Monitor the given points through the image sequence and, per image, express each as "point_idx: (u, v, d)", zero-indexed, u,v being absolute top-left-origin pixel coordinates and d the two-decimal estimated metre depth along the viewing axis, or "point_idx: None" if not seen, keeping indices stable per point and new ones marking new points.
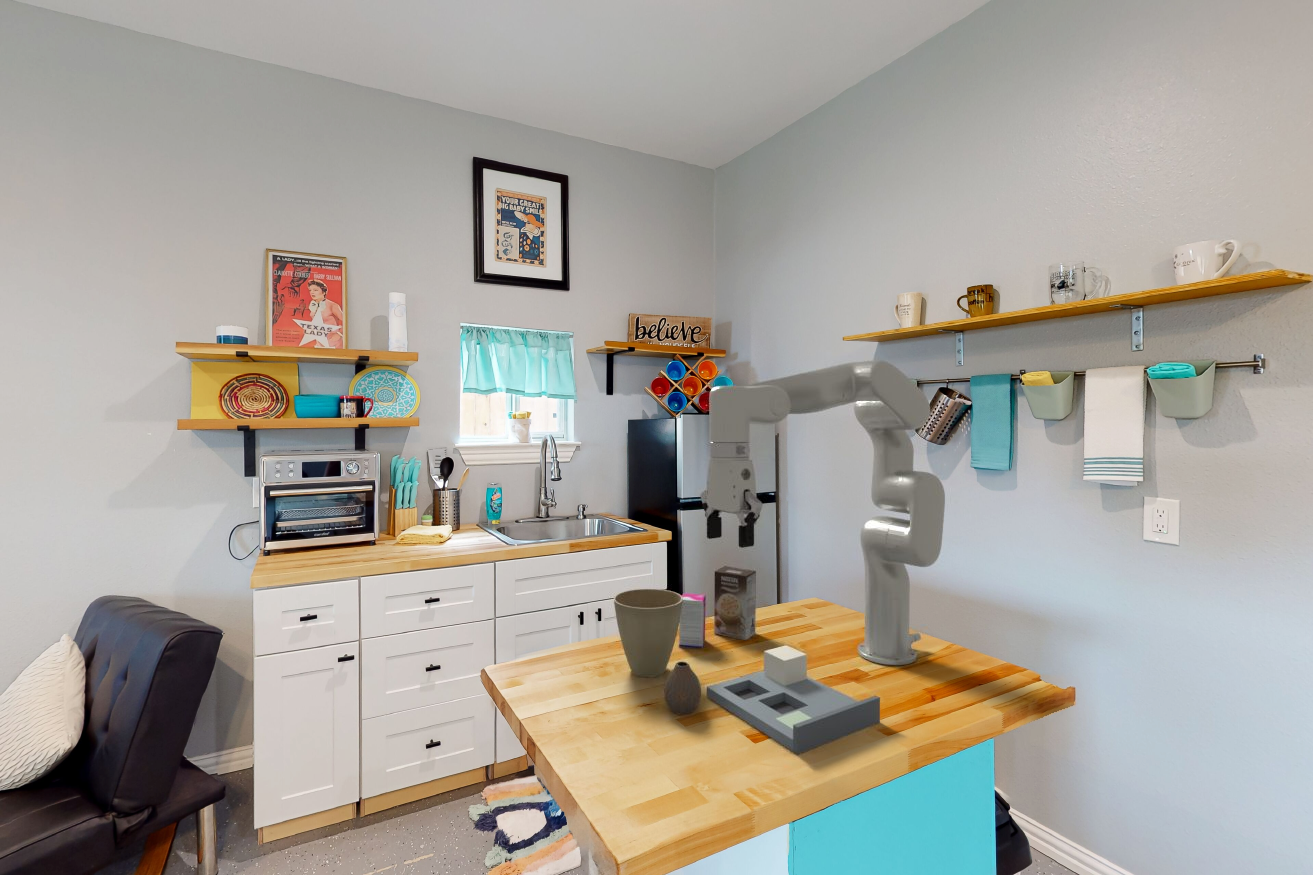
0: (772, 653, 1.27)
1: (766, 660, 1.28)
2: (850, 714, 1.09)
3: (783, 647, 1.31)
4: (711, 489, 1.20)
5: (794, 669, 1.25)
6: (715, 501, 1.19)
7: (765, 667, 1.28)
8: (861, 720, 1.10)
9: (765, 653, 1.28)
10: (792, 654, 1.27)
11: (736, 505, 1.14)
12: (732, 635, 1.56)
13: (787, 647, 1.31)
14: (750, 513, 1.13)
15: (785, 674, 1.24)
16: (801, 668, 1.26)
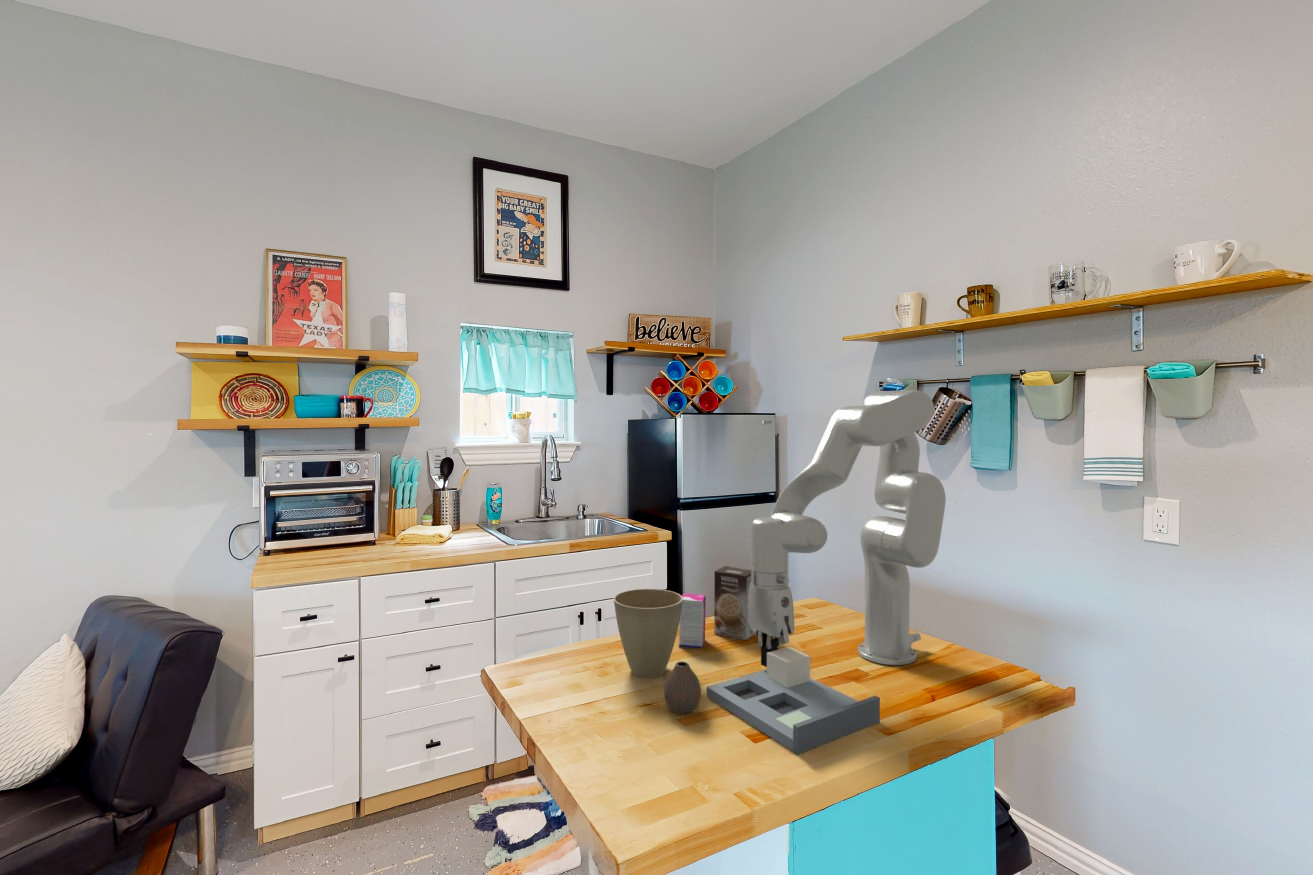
0: (775, 655, 1.26)
1: (769, 662, 1.27)
2: (850, 714, 1.09)
3: (786, 649, 1.30)
4: (752, 611, 1.32)
5: (797, 671, 1.24)
6: (756, 622, 1.32)
7: (768, 669, 1.28)
8: (861, 720, 1.10)
9: (768, 655, 1.27)
10: (795, 656, 1.26)
11: (776, 630, 1.27)
12: (732, 635, 1.56)
13: (790, 649, 1.30)
14: (774, 639, 1.29)
15: (788, 676, 1.23)
16: (804, 670, 1.25)
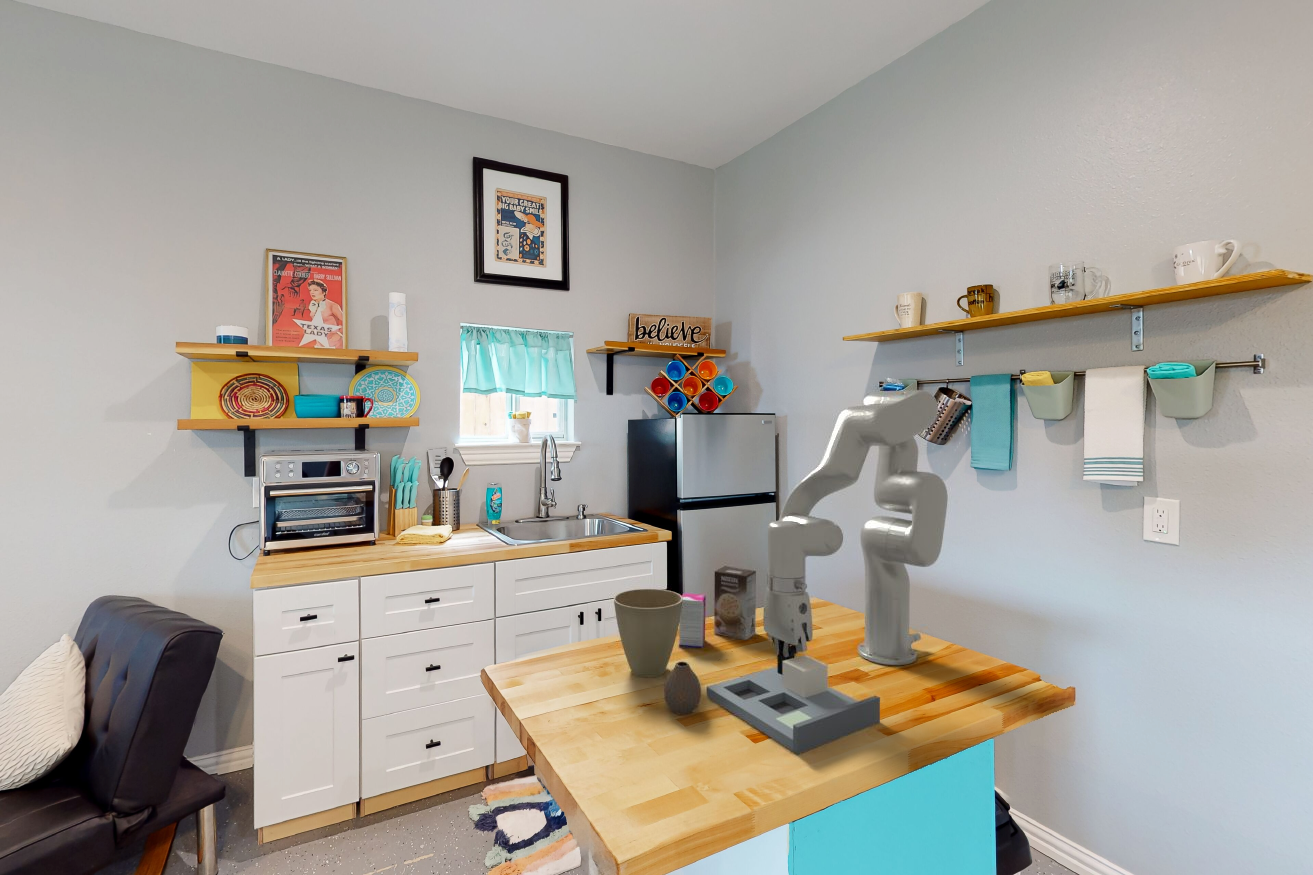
0: (791, 663, 1.22)
1: (785, 670, 1.23)
2: (850, 714, 1.09)
3: (802, 657, 1.25)
4: (769, 617, 1.28)
5: (814, 680, 1.20)
6: (772, 629, 1.27)
7: (784, 678, 1.23)
8: (861, 720, 1.10)
9: (784, 663, 1.23)
10: (812, 664, 1.21)
11: (794, 638, 1.22)
12: (732, 635, 1.56)
13: (806, 657, 1.25)
14: (792, 646, 1.24)
15: (805, 685, 1.19)
16: (821, 679, 1.21)
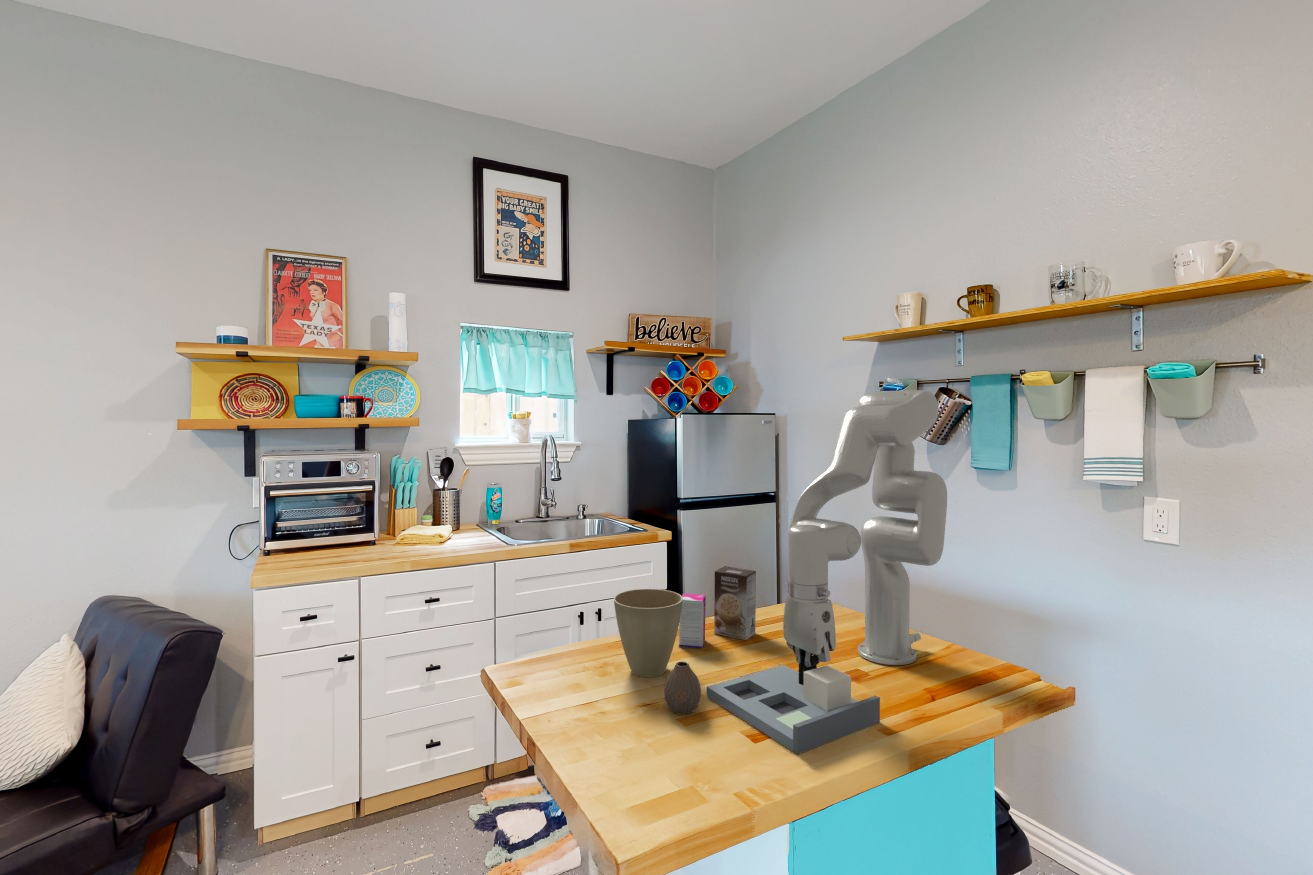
0: (813, 674, 1.17)
1: (806, 682, 1.18)
2: (850, 714, 1.09)
3: (824, 667, 1.20)
4: (789, 625, 1.23)
5: (837, 692, 1.14)
6: (793, 638, 1.22)
7: (805, 689, 1.18)
8: (861, 720, 1.10)
9: (805, 674, 1.18)
10: (834, 676, 1.16)
11: (817, 647, 1.17)
12: (732, 635, 1.56)
13: (828, 667, 1.20)
14: (814, 656, 1.19)
15: (828, 698, 1.13)
16: (845, 691, 1.15)
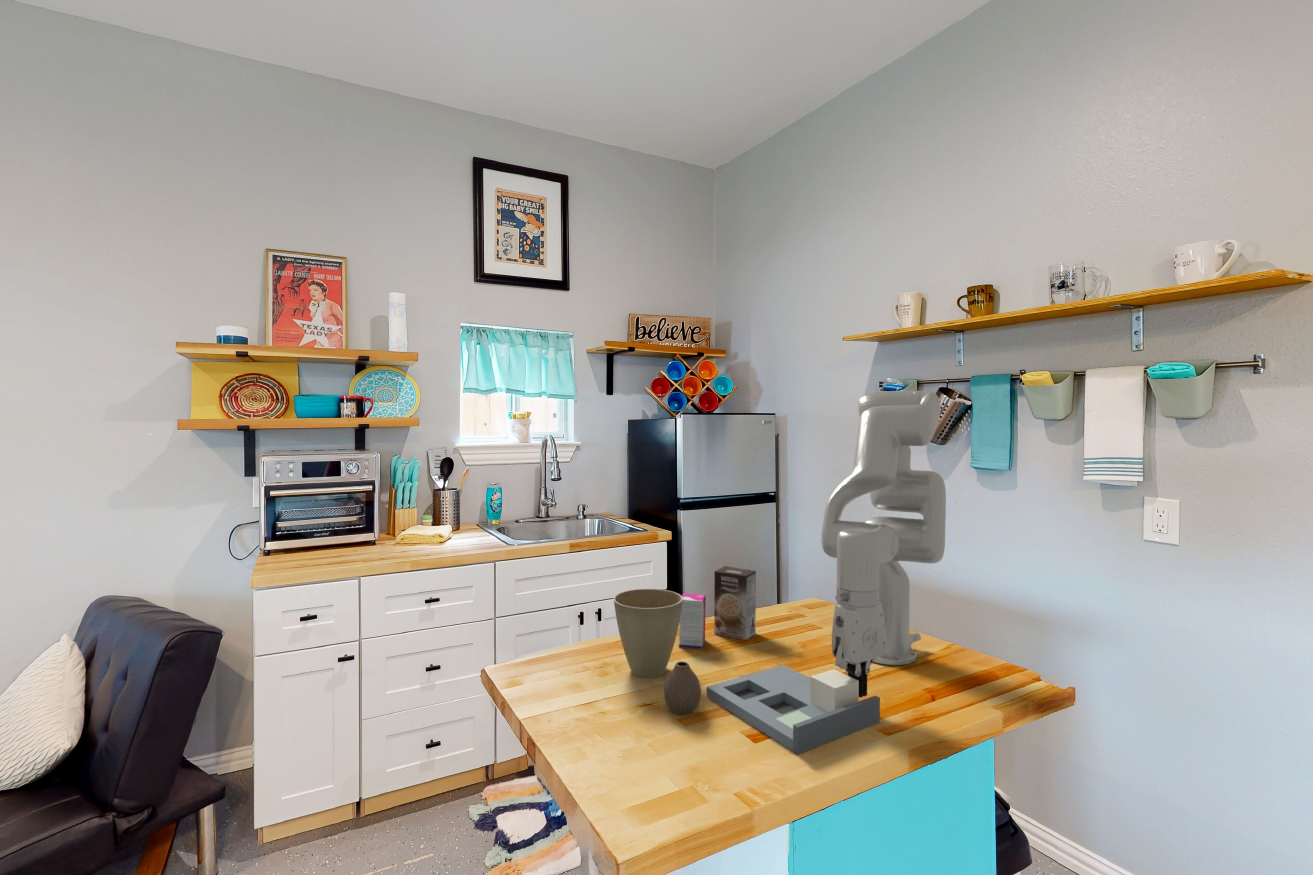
0: (820, 679, 1.15)
1: (813, 686, 1.16)
2: (850, 714, 1.09)
3: (831, 672, 1.18)
4: None
5: (845, 697, 1.12)
6: None
7: (812, 694, 1.16)
8: (861, 720, 1.10)
9: (812, 679, 1.16)
10: (842, 680, 1.14)
11: (832, 648, 1.17)
12: (732, 635, 1.56)
13: (835, 672, 1.18)
14: None
15: (835, 703, 1.11)
16: (852, 696, 1.13)
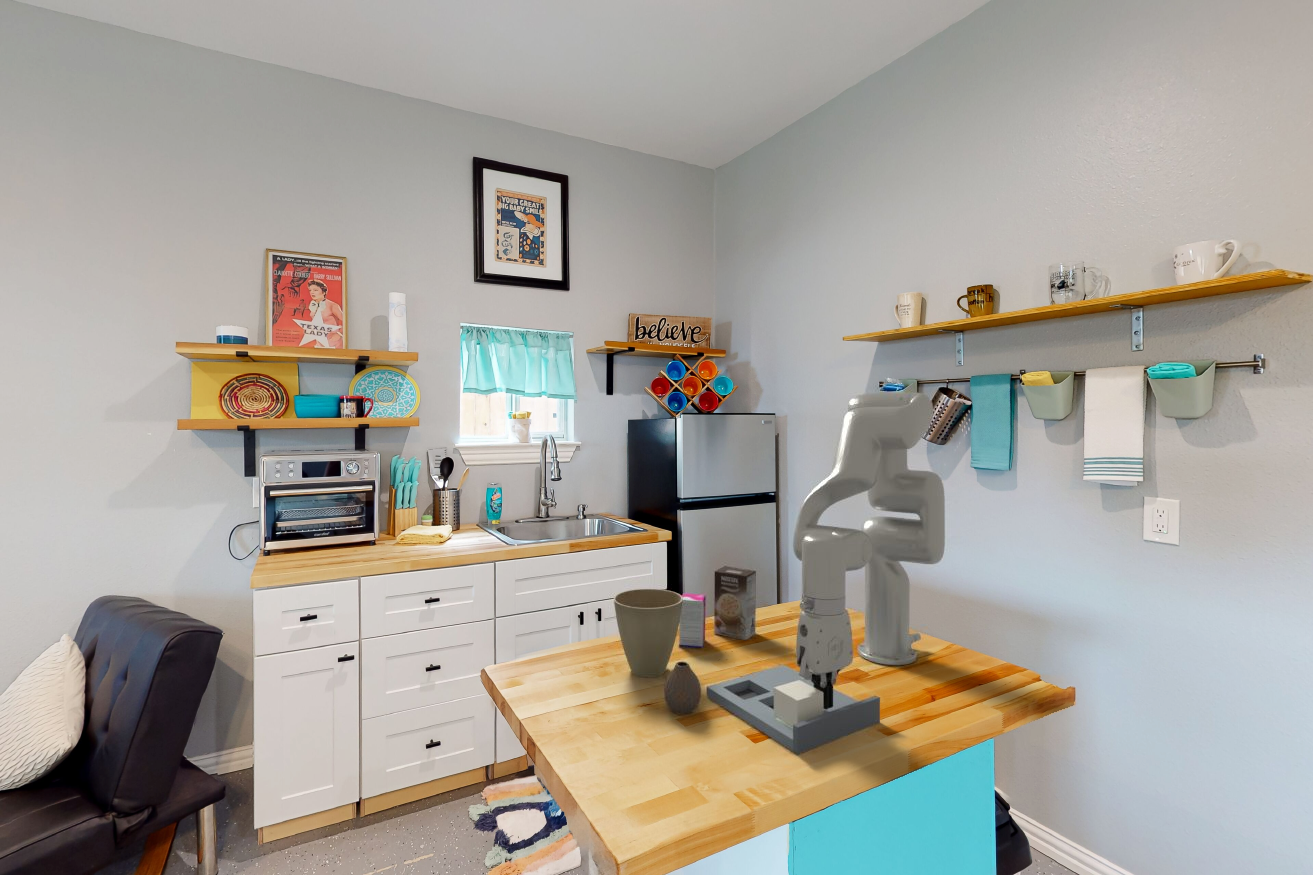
0: (783, 690, 1.10)
1: (776, 698, 1.11)
2: (850, 714, 1.09)
3: (796, 682, 1.13)
4: None
5: (808, 710, 1.08)
6: None
7: (775, 706, 1.11)
8: (861, 720, 1.10)
9: (775, 690, 1.11)
10: (806, 692, 1.10)
11: None
12: (732, 635, 1.56)
13: (800, 682, 1.13)
14: None
15: (798, 716, 1.07)
16: (817, 708, 1.09)
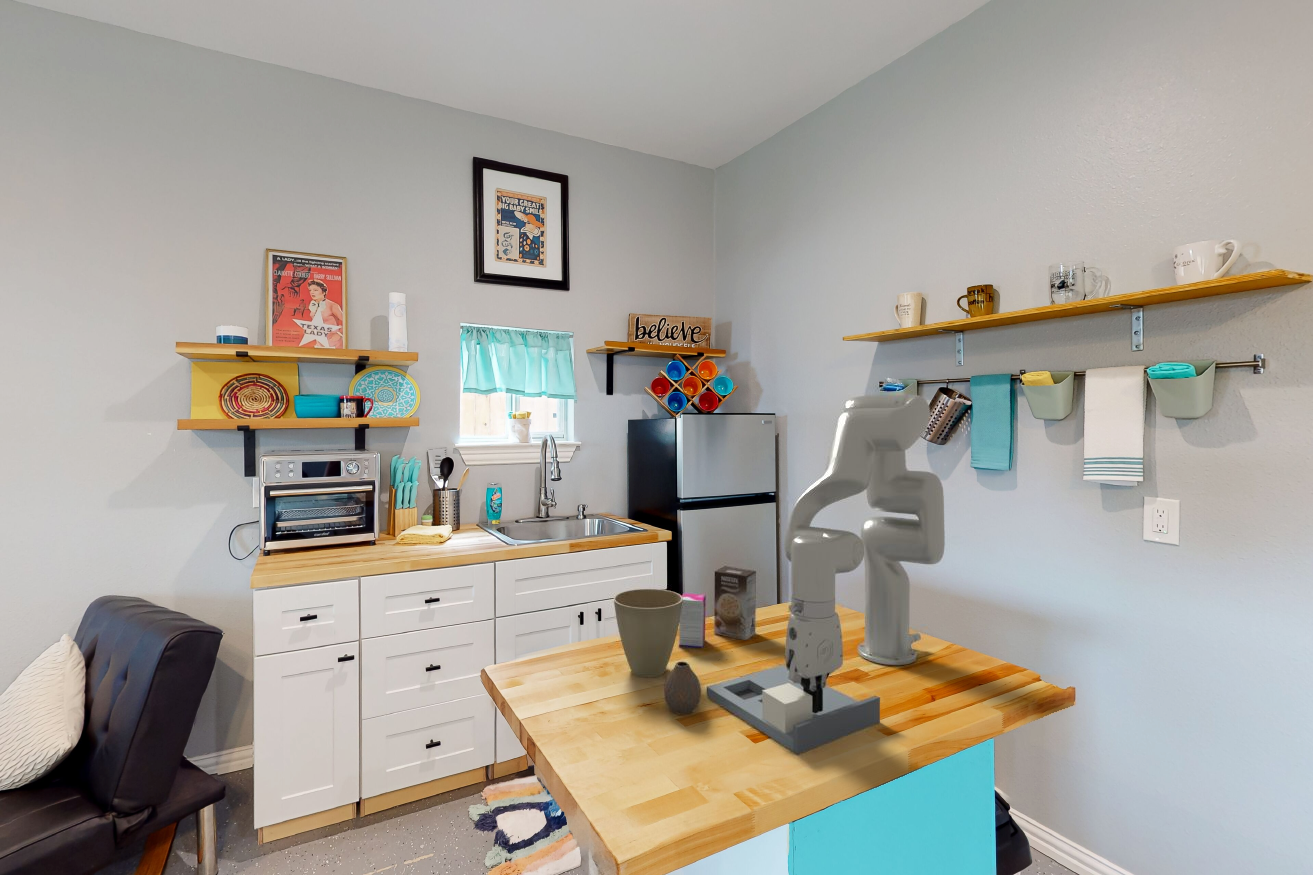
0: (771, 693, 1.09)
1: (765, 701, 1.10)
2: (850, 714, 1.09)
3: (785, 686, 1.12)
4: None
5: (796, 713, 1.07)
6: None
7: (763, 709, 1.10)
8: (861, 720, 1.10)
9: (763, 693, 1.10)
10: (795, 695, 1.08)
11: (786, 661, 1.11)
12: (732, 635, 1.56)
13: (790, 686, 1.12)
14: None
15: (786, 719, 1.05)
16: (805, 712, 1.08)
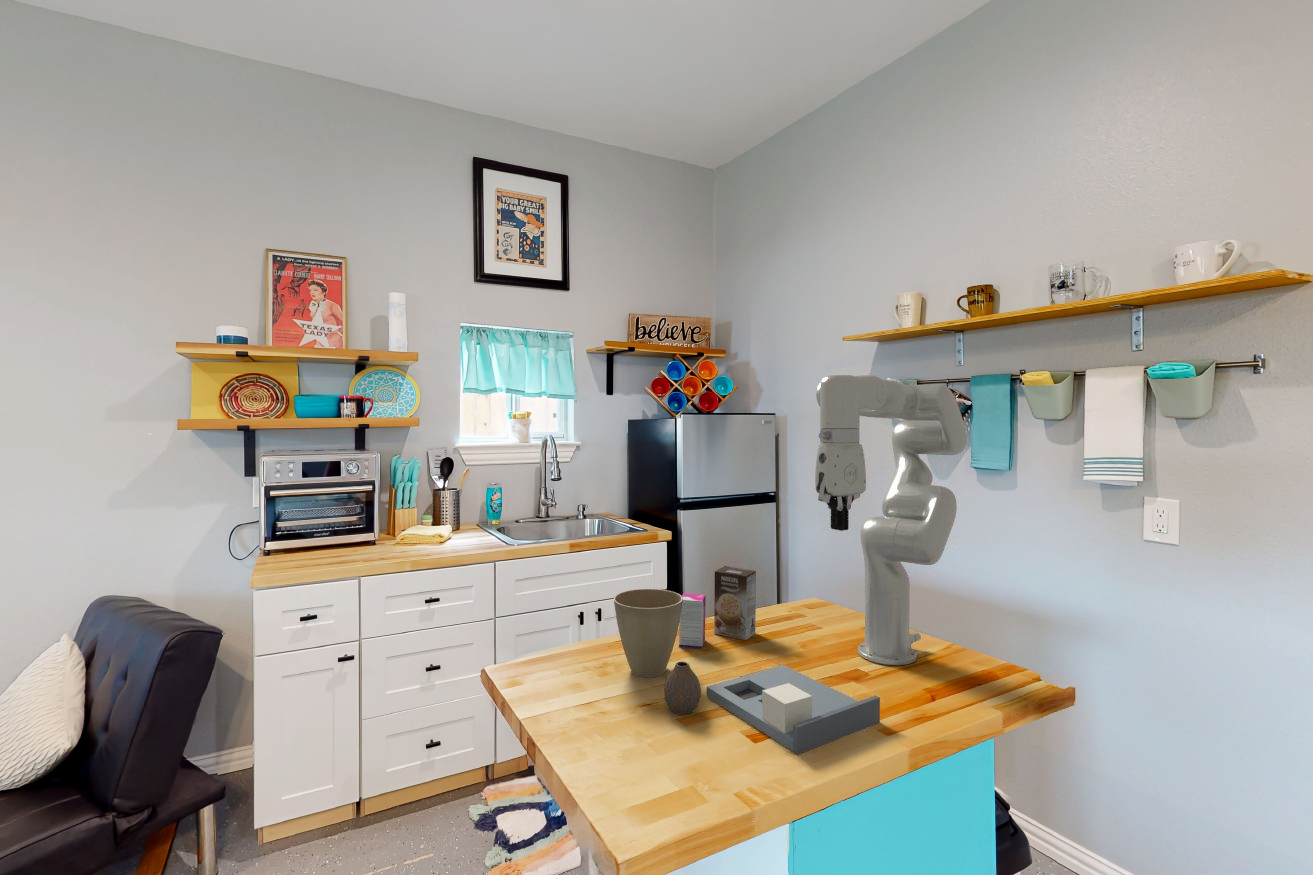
0: (771, 693, 1.09)
1: (764, 701, 1.10)
2: (850, 714, 1.09)
3: (785, 686, 1.12)
4: None
5: (796, 713, 1.07)
6: None
7: (763, 709, 1.10)
8: (861, 720, 1.10)
9: (763, 693, 1.10)
10: (794, 695, 1.08)
11: None
12: (732, 635, 1.56)
13: (790, 686, 1.12)
14: None
15: (786, 719, 1.05)
16: (805, 712, 1.08)
